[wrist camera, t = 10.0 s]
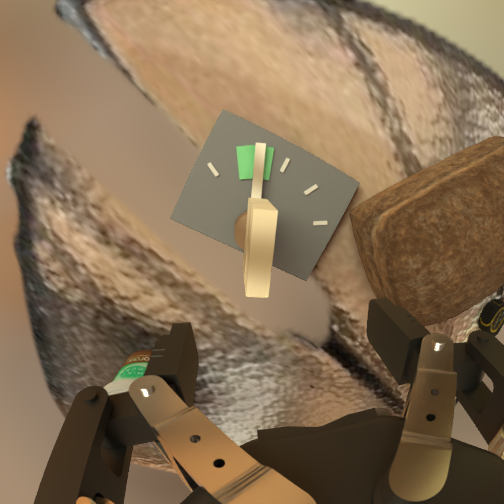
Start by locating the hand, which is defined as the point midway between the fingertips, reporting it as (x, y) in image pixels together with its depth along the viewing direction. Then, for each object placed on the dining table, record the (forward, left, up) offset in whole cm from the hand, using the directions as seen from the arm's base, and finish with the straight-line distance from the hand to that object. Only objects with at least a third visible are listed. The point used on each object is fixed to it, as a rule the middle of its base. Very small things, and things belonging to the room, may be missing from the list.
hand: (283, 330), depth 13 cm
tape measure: (-47, -6, -22) cm, 53 cm away
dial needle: (+1, -3, -20) cm, 20 cm away
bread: (-23, -14, -22) cm, 35 cm away
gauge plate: (0, -3, -22) cm, 22 cm away
